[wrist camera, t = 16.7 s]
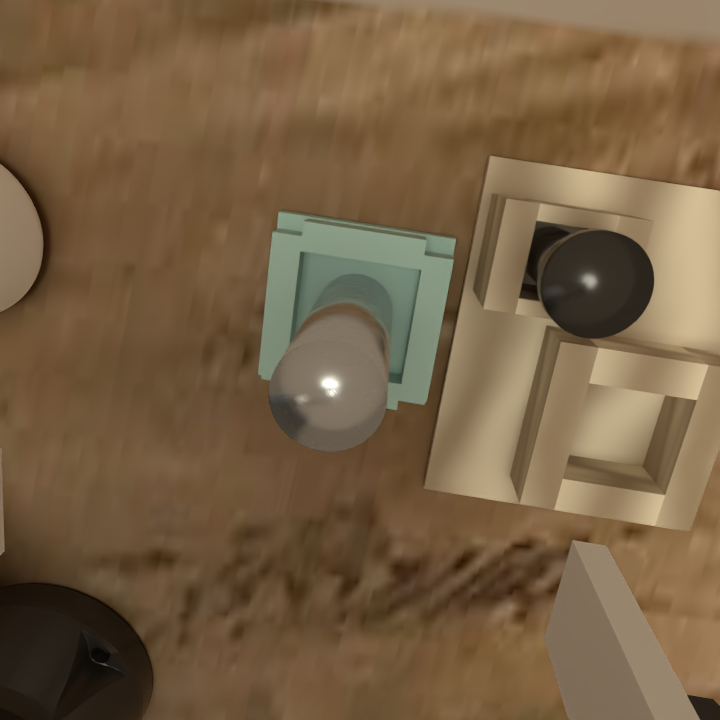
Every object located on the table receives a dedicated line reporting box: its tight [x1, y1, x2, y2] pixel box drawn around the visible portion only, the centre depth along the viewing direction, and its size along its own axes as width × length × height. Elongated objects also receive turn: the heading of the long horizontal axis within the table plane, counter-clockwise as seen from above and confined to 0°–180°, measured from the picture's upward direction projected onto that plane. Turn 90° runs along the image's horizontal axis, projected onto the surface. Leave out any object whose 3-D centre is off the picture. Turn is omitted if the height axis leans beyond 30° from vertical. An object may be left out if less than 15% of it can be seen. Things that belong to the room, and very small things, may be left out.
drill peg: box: [269, 274, 393, 452], centre depth 30 cm, size 4×4×14 cm
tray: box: [258, 210, 456, 410], centre depth 36 cm, size 10×10×3 cm
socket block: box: [424, 156, 720, 532], centre depth 35 cm, size 16×20×6 cm
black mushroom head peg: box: [525, 227, 654, 339], centre depth 30 cm, size 4×4×9 cm
